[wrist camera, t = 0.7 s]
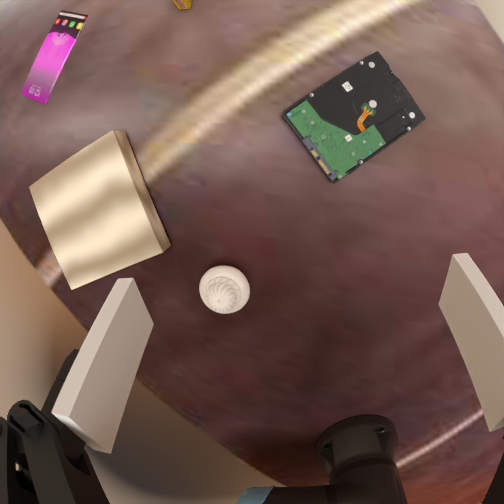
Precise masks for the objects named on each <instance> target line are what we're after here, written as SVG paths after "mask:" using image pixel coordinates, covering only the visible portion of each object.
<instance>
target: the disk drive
mask: <svg viewBox="0 0 504 504" xmlns="http://www.w3.org/2000/svg"><path fill="white" fill-rule="evenodd" d="M282 117H283V118H284V120H285V121H286V122H287V123H288V125H289V126H290V127H291V129H292V130H293V131H294V132H295V134H296V135H297V136H298V138H299V139H300V140H301V142H302V143H303V144H304V145H305V147H306V148H307V149H308V151H309V152H310V154H311V155H312V156H313V158H314V159H315V161H316V162H317V163H318V165H319V166H320V167H321V169H322V170H323V172H324V173H325V174H326V176H327V177H328V179H329V180H330V181H331V182H332V183H336V182H337V181H338V180H340V179H341V178H343V177H344V176H346V175H348V174H350V173H352V172H353V171H354V170H356V169H357V168H358V167H359V166H361V165H362V164H363V163H365V162H366V161H368V160H369V159H371V158H372V157H373V156H375V155H376V154H378V153H379V152H380V151H382V150H383V149H385V148H386V147H388V146H389V145H390V144H392V143H393V142H394V141H396V140H397V139H399V138H400V137H402V136H403V135H405V134H406V133H407V132H409V131H410V130H412V129H413V128H415V127H417V126H418V125H419V124H420V123H421V122H423V121H424V120H425V119H426V118H425V116H424V115H423V113H422V111H421V110H420V109H419V107H418V105H417V104H416V103H415V101H414V99H413V98H412V97H411V95H410V94H409V92H408V91H407V89H406V88H405V86H404V85H403V83H402V82H401V81H400V79H398V78H397V77H396V76H395V75H394V74H393V73H392V74H391V70H390V68H389V64H388V63H387V62H386V61H385V59H384V58H383V57H382V56H381V54H380V53H379V52H378V51H377V52H375V53H373V54H371V55H369V56H367V57H365V58H364V59H362V60H361V61H360V62H358V63H356V64H355V65H353V66H351V67H350V68H348V69H347V70H345V71H343V72H342V73H340V74H339V75H337V76H336V77H334V78H332V79H331V80H329V81H328V82H326V83H325V84H323V85H322V86H320V87H319V88H317V89H316V90H314V91H312V92H311V93H309V94H308V95H307V96H305V97H303V98H302V99H300V100H299V101H297V102H296V103H295V104H294V105H292V106H291V107H289V108H288V109H286V110H285V111H284V112H283V113H282Z"/></svg>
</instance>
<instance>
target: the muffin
mask: <svg viewBox="0 0 504 504" xmlns="http://www.w3.org/2000/svg"><path fill="white" fill-rule="evenodd" d="M199 291H200V295H201V298H202V300H203V302H204V303H205V305H206V306H207V307H208V308H210V309H211V310H213V311H215V312H218V313H222V314H228V313H233V312H236V311H238V310H240V309H241V308H242V307H243V306H244V305H245V304H246V303H247V301H248V299H249V295H250V287H249V283H248V281H247V279H246V277H245V276H244V275H243V273H242V272H241V271H240V270H238V269H236V268H235V267H231V266H222V265H221V266H216V267H213V268H211V269H209V270H208V271H207V272H206V273H205V274H204V275H203V277H202V279H201V281H200V285H199Z"/></svg>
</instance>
